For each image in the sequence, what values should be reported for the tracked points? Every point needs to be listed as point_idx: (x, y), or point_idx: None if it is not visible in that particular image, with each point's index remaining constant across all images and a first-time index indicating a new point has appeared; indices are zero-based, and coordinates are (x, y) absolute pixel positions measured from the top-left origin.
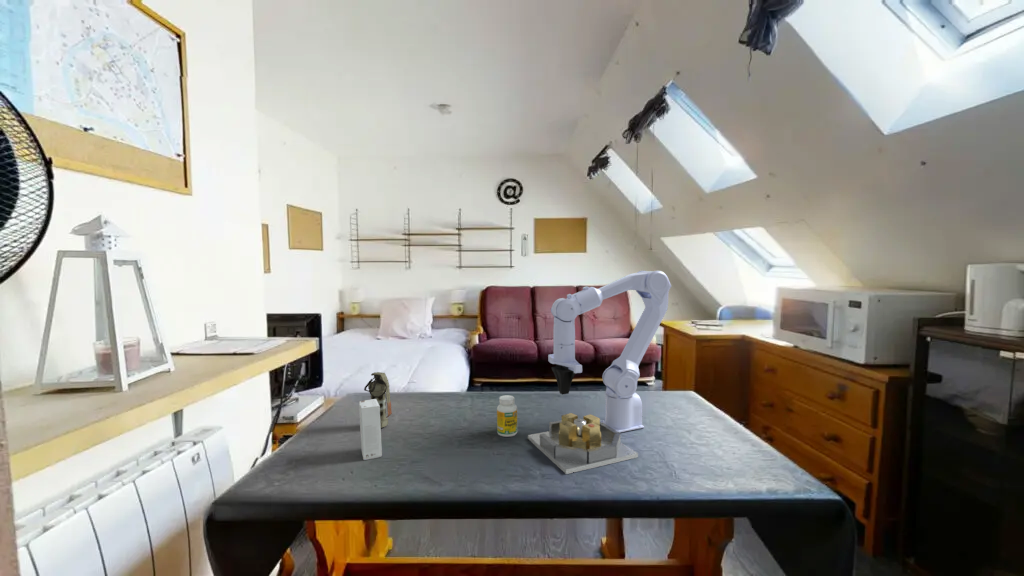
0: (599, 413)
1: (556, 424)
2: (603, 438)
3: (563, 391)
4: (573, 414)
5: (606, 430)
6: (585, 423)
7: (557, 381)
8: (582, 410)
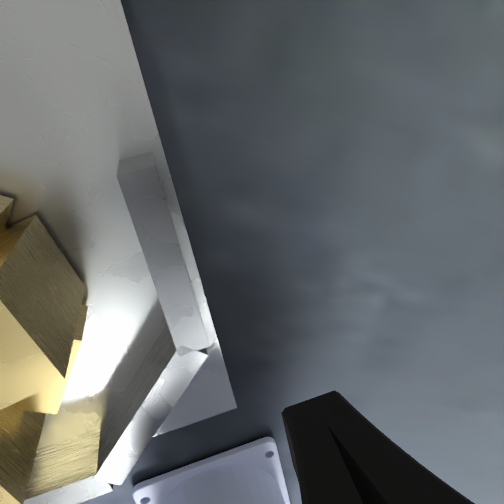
0: None
1: (133, 216)
2: None
3: (293, 450)
4: (19, 391)
5: None
6: None
7: (429, 500)
8: (436, 390)
